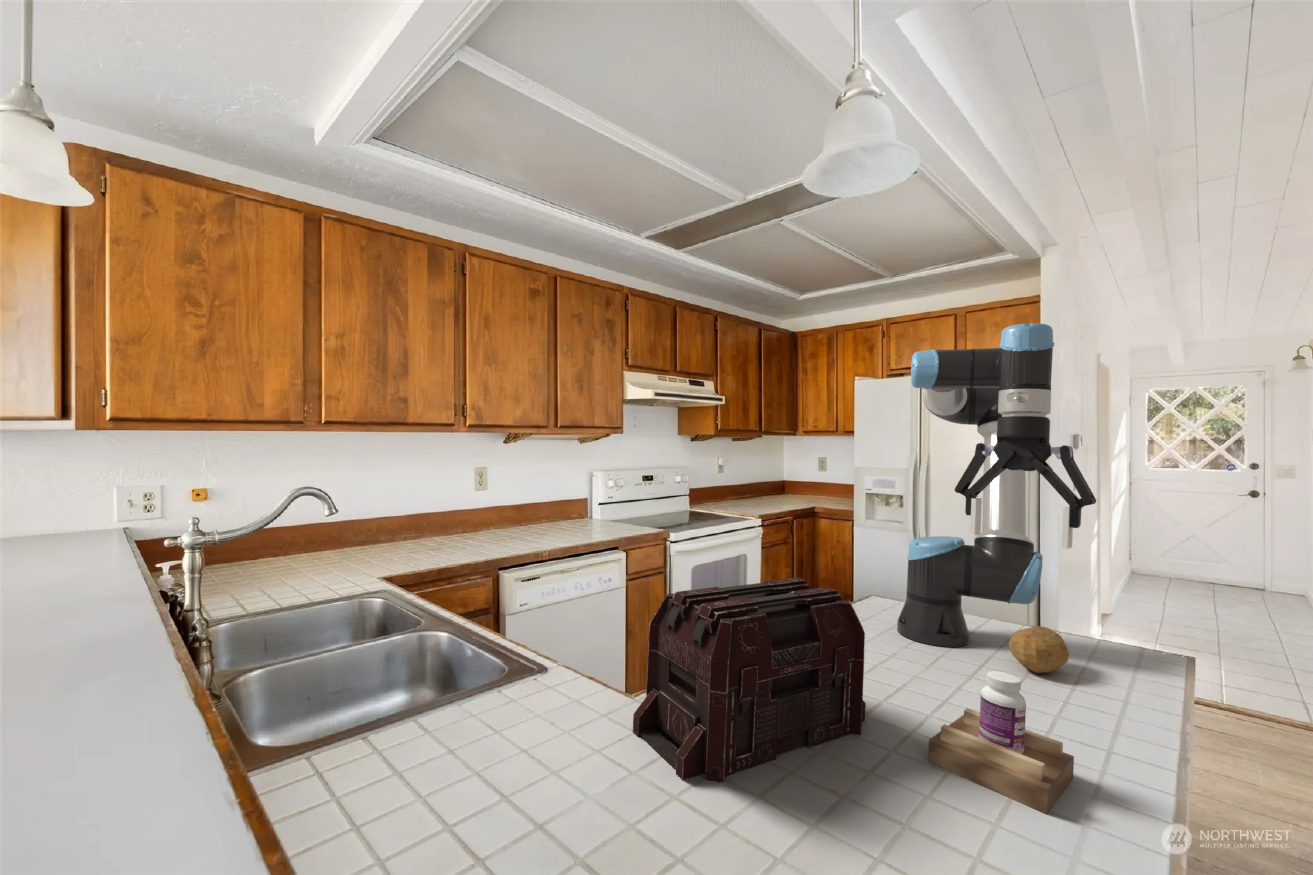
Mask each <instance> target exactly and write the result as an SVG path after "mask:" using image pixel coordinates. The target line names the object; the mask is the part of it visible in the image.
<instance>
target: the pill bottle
mask: <svg viewBox="0 0 1313 875" xmlns="http://www.w3.org/2000/svg"><path fill="white" fill-rule="evenodd" d="M986 683H987V685H985V686H983V687H982V689H981V690H980V706H979V707H980V708H979V710H980V711H979V713H980V727H979V738H981V739H983V740H986V741H988V742H991V743H994V744H996V745H999V746H1001V747H1004V748H1006V749H1009V750H1011V751H1014V752H1017V753H1019V754H1022V753H1023V752H1024V743H1025V729H1026V717H1027V716H1026V714H1027V701H1026V699H1025V697H1024V695H1023V694H1021V693H1020V691H1021V689H1022V686H1021V685H1022V680H1021V678H1019V677H1018V676H1016V675H1013V674H1011V673H1008V672H1004V671H1003V672H1002V671H995V670H994V671H992V670H991V671H988V672H986Z"/></svg>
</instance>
